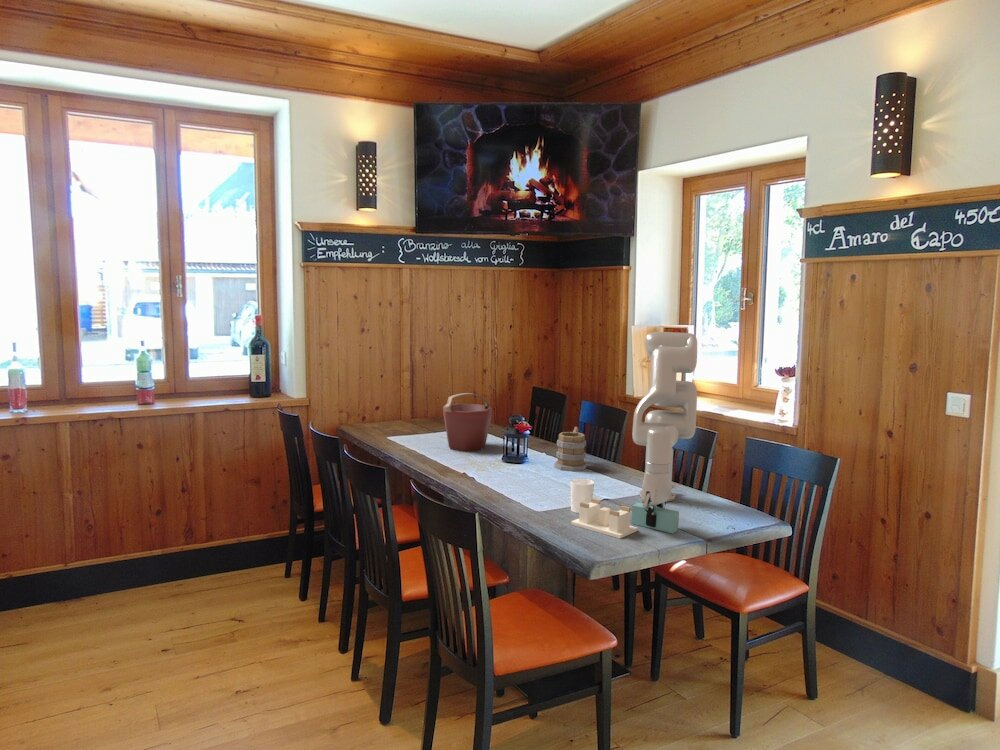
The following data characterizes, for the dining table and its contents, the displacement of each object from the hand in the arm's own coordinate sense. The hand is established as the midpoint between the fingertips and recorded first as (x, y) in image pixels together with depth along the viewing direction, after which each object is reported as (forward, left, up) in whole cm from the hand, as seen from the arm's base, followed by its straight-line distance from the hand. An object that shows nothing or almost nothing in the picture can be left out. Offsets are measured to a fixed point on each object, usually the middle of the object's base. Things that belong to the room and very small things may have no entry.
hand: (654, 523), depth 228 cm
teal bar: (0, 0, -1) cm, 1 cm away
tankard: (-46, -65, -1) cm, 80 cm away
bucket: (-37, -119, -1) cm, 125 cm away
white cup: (+3, -26, -1) cm, 26 cm away
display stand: (+12, -11, -1) cm, 16 cm away
